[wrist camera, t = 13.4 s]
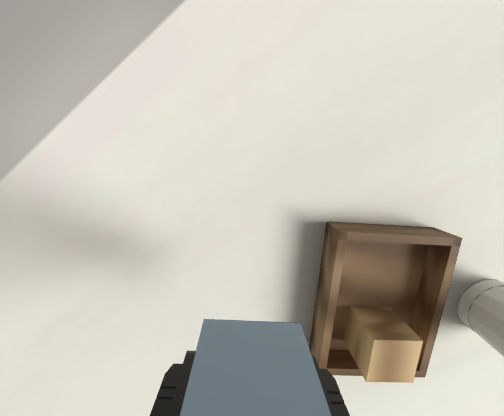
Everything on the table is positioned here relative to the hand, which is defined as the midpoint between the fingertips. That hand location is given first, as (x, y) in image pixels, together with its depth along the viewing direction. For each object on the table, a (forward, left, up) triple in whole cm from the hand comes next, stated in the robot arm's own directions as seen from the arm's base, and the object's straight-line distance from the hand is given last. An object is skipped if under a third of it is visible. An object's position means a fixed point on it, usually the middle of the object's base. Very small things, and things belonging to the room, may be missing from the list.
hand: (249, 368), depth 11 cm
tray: (+4, +14, -14) cm, 20 cm away
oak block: (+8, +14, -13) cm, 21 cm away
